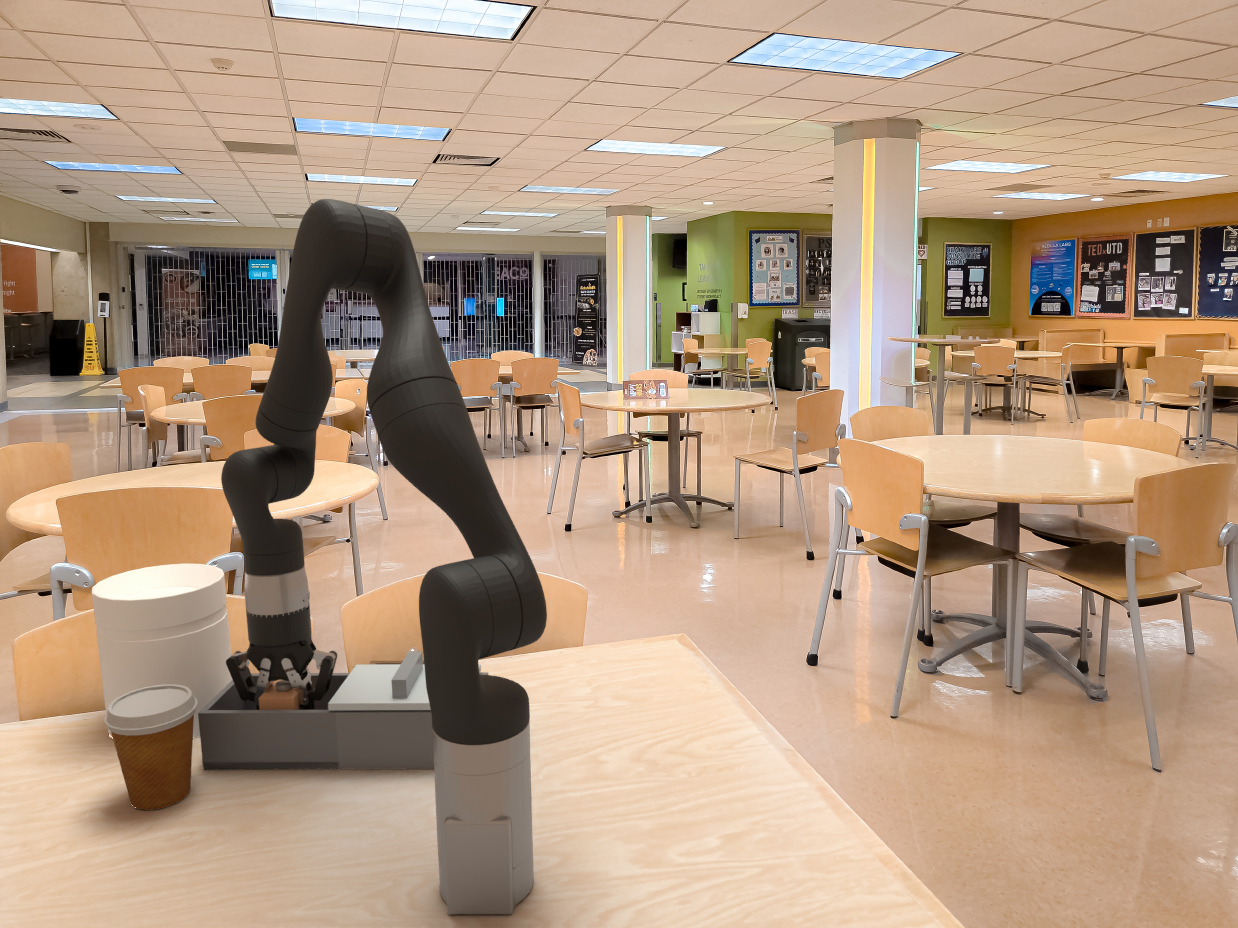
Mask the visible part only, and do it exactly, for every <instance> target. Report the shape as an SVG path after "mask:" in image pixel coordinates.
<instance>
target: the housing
mask: <svg viewBox="0 0 1238 928" xmlns="http://www.w3.org/2000/svg"><path fill="white" fill-rule="evenodd" d="M350 673H351V672H333V675H332V679H331V682H330V686H329V690H328V691H327V693H326V694H325V695H324V697H323V698H322V699H321V700H319V701H317V700H315V701H314V705H315V710H257V707H256V704H255V703H254V702H253V701H250V700H246V701H243V700H242V699H241V698H240V696H239V694H238V691H237V689H236V687H235V684H234V682H233V680H232V681H231V682H230V683H229V684H227V685H226V686H225V687H224V688H223V689H222V690H221V691H220V692H219V693H218V694H217V695H216V696H215V697H214V698H213V699H212V700H211V701H210V702H209V703H208V704H207V705H206V706H205V707H204V708H203V709H202V710H201V711H200V712H199V713H198V719H199V729H200V736H199V739H200V749H201V757H202V769H203V771H210V770H212V771H214V770H216V771H218V770H220V771H223V770H227V771H228V770H229V771H231V770H232V771H233V770H235V771H236V770H237V771H239V770H240V771H241V770H243V771H244V770H247V771H249V770H250V771H252V770H253V771H254V770H255V771H256V770H258V771H259V770H262V771H263V770H264V771H265V770H434V757H433V756H434V754H433V732H432V714H431V710H328V703H329V702H330V700H331V699H332V697H333V696H334V695H335V693H336V692H337V691H338V689H339V688H340V686H341V685H342V684H343V682H344V681H345V680H346V678H347V677H348V676H349V674H350ZM310 674H311V682H312V685H313V687H314V688H315V687H316V683H317V679H318V675H319V672H310ZM480 674H481V675H490V674H489V672H488V671H487V672H485V671H484V672H480ZM251 675H252V677H253V680H254V682H255V684H256V685H257V681H258V677H259V672H253V673H251Z"/></svg>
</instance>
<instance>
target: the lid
mask: <svg viewBox="0 0 1238 928" xmlns="http://www.w3.org/2000/svg"><path fill="white" fill-rule="evenodd" d="M402 661H403V662H402V663H401V664H369V663H368V664H356V665H355V666H354V667H353V669H352V670H351V671H350V672H349V673H350V674H349V676H348V677H347V678H346V680H345V681H344V682H343V684H342V685H341V686H340V688H339V689H338V691H337V692H336V693H335V695H334V696H333V697H332V699H331V700H330V702H329V703H328V710H431V708H430V704H429V699H428V694H427V689H426V679H425V665H424V664H423V661H424V657H423V650H422V651H418V652H408V651H407V654H406V656H405V657H404V659H403V660H402ZM478 665H479V674H480V672H481V671H482V663H478Z"/></svg>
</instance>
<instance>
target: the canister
mask: <svg viewBox="0 0 1238 928" xmlns="http://www.w3.org/2000/svg"><path fill="white" fill-rule="evenodd" d="M91 599H92V607H93V613H94V614H93V615H94V624H95V625H96V641H97V642H96V643H97V650H98V657H99V665H100V675H101V683H102V684H101V685H102V690H103V691H102V692H103V700H104V707H105V716H106V715H107V713H108V706H109V705H110V703H111V702H112V701H114V700H115V699H116V698H118V697H120V696H121V695H123V694H126V693H128V692H131V691H134V690H137V689H140V688H144V687H149V686H155V685H165V684H173V685H182V686H186V687H188V688H189V689H190V690H191V691H192V693H193V696H194V697H195V698H196V699H197V701H198V705H197V708H196V710H195V713H194V720H193V737H196V738H197V736H198V737H200V729H199V719H198V713H199V712H200V711H201V710H202V709H203V708H204V707H205V706H206V705H207V704H208V703H209V702H210V701H211V700H212V699H213V698H214V697H215V696H216V695H217V694H218V693H219V692H220V691H221V690H222V689H223V688H224V687H225V686H226V685H227V684H229V683H230V682H231V681H232V680H233V679H232V677H231V675H230V672H229V670H228V667H227V665H226V660H227V659H228V658H229V657H230V656H231V655H232V647H231V638H230V637H231V636H230V626H229V625H230V623H229V614H228V613H229V612H228V610H227V603H228V602H227V589H226V580H225V573H224V571H223V569H222V568H220V567H217V566H215V565H210V564H203V563H172V564H161V565H154V566H147V567H146V566H145V567H142V568H136V569H132V570H128V571H125V572H120V573H117V574H114V575H110V576H109V577H106V578H104V579H102V580H100V581H98V582H97V583H96V584H95V585H93V586H92V587H91ZM108 733H109V734H110V735H111V736H112V733H111V731H110V730H109V728H108V727H107V734H108ZM112 737H113V736H112Z"/></svg>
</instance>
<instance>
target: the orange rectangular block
mask: <svg viewBox="0 0 1238 928" xmlns="http://www.w3.org/2000/svg"><path fill="white" fill-rule="evenodd" d="M300 704H301V703H300V701H299V698H298V693H296V691H295V690H293V688H292V686H291V683H290V681H285V680H277V681H274V683H273V686H270V687H269V688H268V690H267V692H266V693H263V694H262V695H261V696H260V697H259V709H260V710H300V708H299V706H300Z"/></svg>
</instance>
